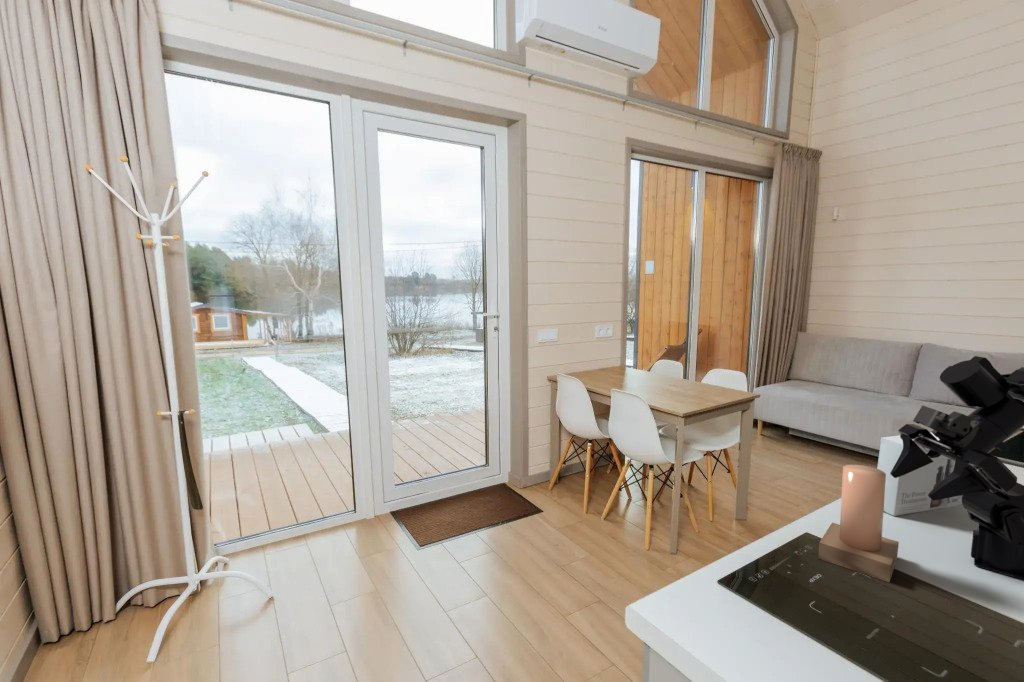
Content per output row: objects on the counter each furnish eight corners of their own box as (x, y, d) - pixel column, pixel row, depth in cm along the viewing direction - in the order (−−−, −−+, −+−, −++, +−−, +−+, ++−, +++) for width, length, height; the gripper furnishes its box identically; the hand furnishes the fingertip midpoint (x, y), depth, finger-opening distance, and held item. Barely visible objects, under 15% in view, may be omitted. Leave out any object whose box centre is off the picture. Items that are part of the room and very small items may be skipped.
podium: (897, 557, 85) (898, 541, 84) (889, 582, 78) (891, 565, 77) (830, 537, 92) (832, 522, 91) (818, 558, 85) (819, 542, 84)
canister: (889, 546, 83) (894, 474, 81) (866, 554, 80) (871, 479, 79) (853, 530, 88) (857, 462, 87) (831, 537, 86) (835, 467, 85)
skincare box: (896, 518, 99) (903, 444, 97) (871, 506, 104) (877, 436, 103) (968, 505, 105) (976, 435, 103) (940, 495, 110) (947, 428, 108)
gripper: (914, 381, 89) (846, 436, 92) (1004, 405, 71) (916, 474, 73) (956, 423, 89) (887, 477, 92) (1057, 459, 71) (967, 525, 73)
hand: (910, 486), depth 82 cm, fingers open, 9 cm apart
